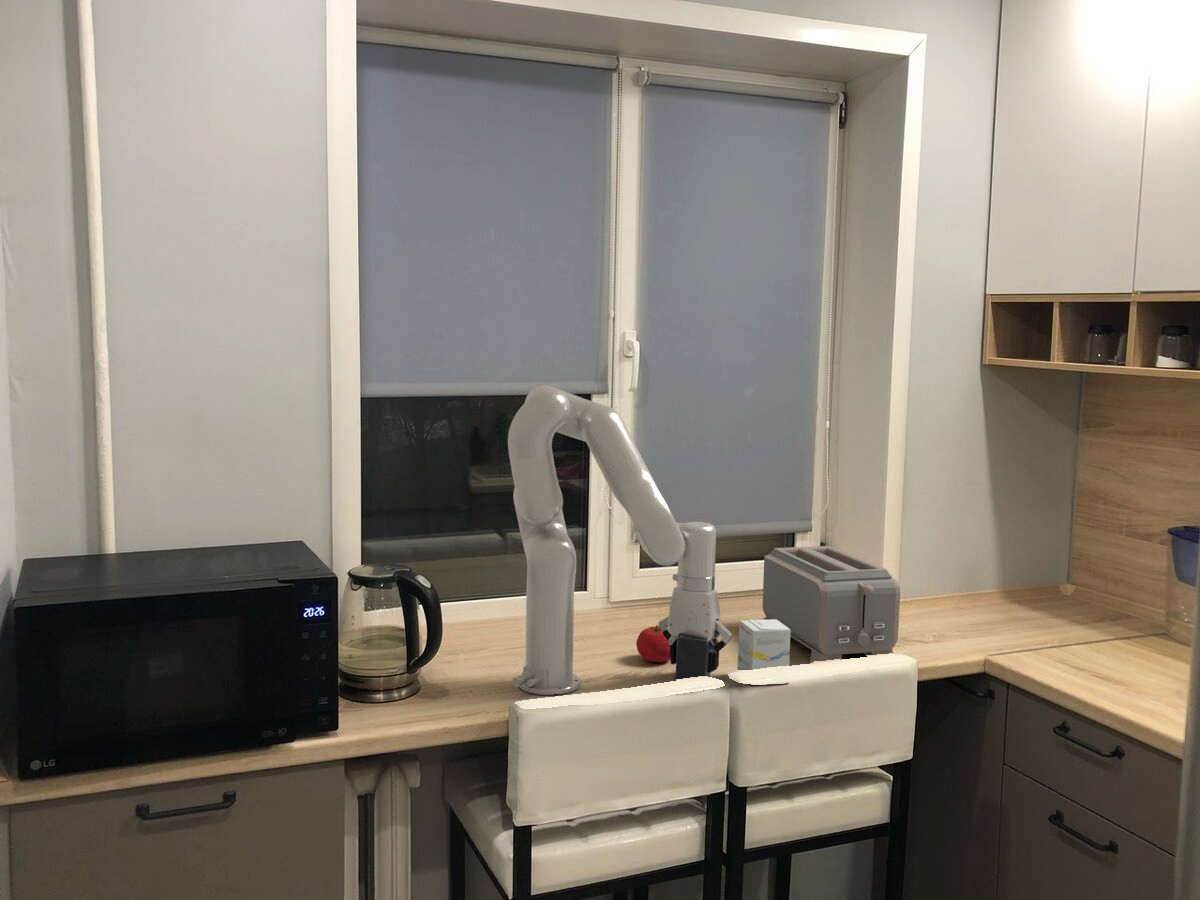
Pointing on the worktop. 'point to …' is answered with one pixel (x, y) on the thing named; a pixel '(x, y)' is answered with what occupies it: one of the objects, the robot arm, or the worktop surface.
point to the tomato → (653, 645)
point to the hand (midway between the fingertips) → (693, 666)
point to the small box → (691, 656)
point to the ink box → (763, 644)
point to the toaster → (831, 601)
